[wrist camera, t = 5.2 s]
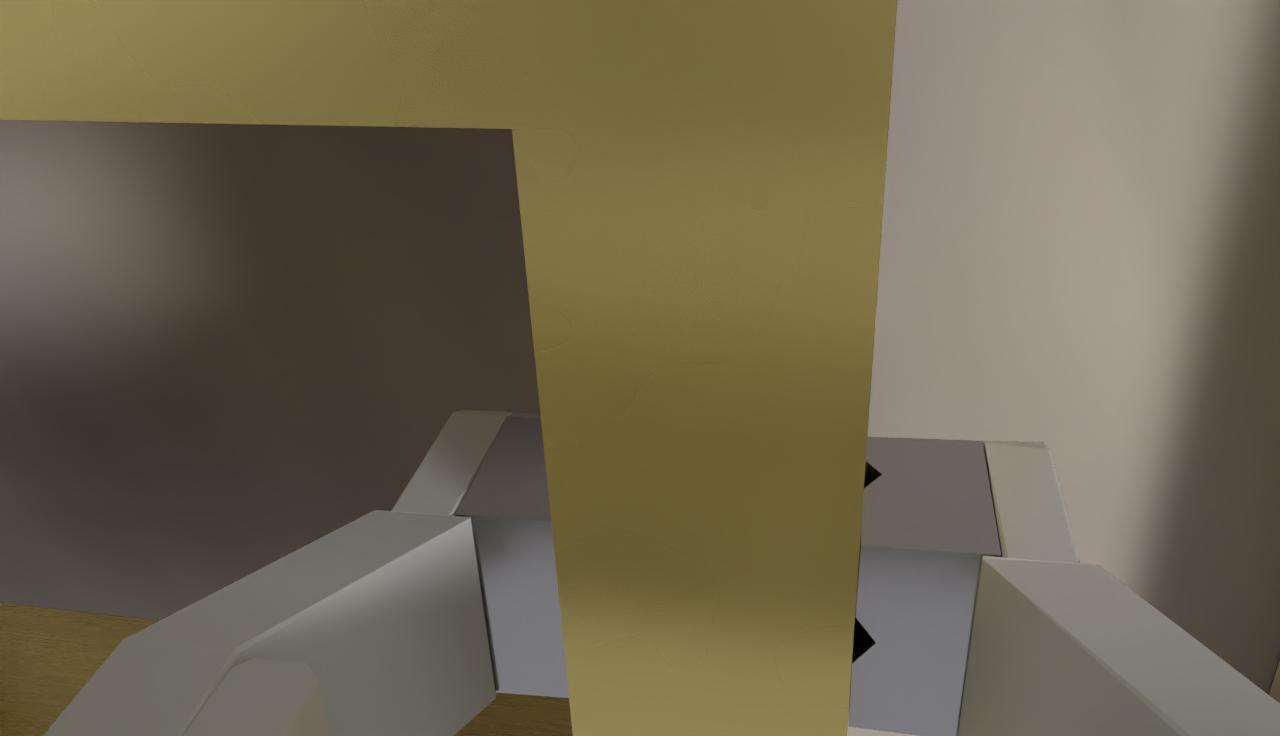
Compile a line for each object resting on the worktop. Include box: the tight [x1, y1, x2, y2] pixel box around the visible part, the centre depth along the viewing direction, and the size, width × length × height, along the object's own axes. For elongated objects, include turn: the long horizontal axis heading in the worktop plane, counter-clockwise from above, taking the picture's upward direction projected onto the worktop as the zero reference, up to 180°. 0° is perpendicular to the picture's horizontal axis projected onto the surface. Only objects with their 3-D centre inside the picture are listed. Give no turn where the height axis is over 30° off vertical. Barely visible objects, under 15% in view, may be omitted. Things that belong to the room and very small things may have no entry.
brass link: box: [0, 0, 897, 736], centre depth 11 cm, size 12×14×4 cm
